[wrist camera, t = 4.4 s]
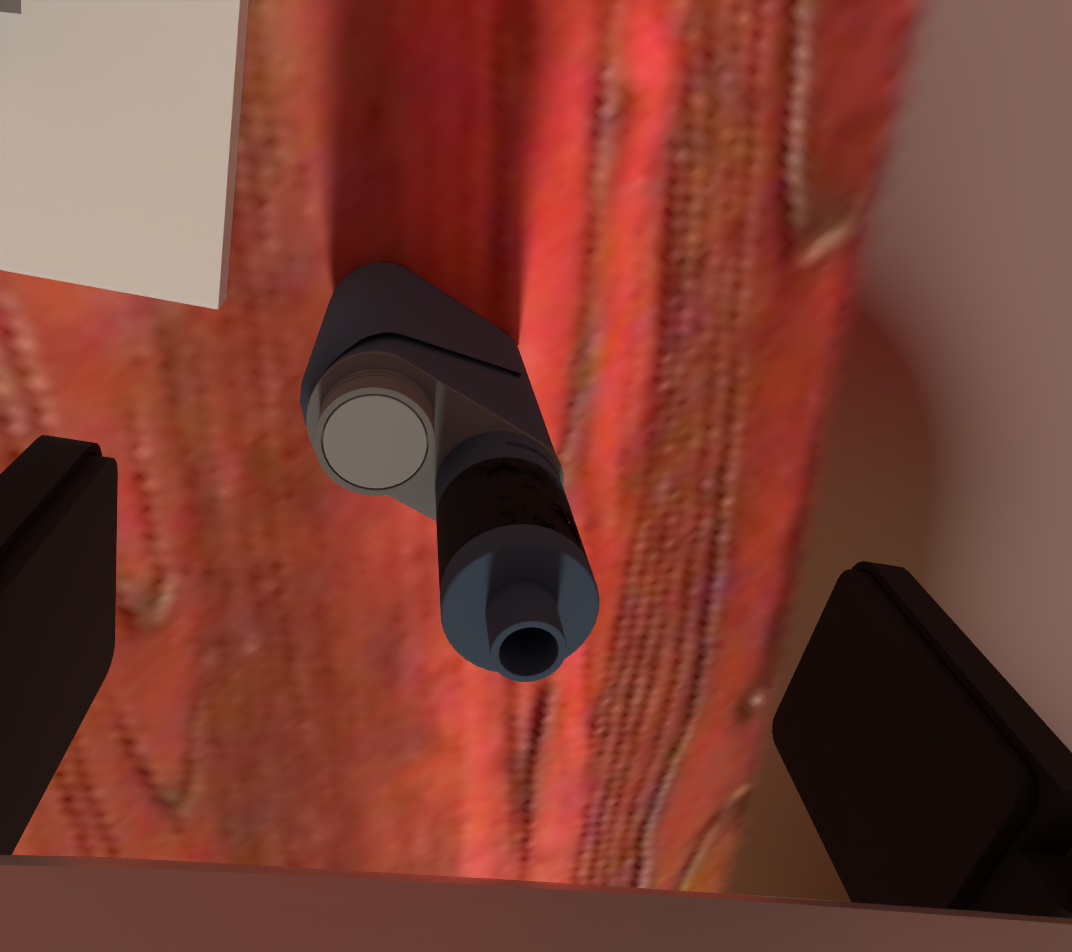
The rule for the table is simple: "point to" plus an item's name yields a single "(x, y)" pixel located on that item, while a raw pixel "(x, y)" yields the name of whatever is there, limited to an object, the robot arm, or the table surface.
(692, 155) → the table surface
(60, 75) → the dock
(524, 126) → the table surface
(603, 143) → the table surface
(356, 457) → the vaping device
